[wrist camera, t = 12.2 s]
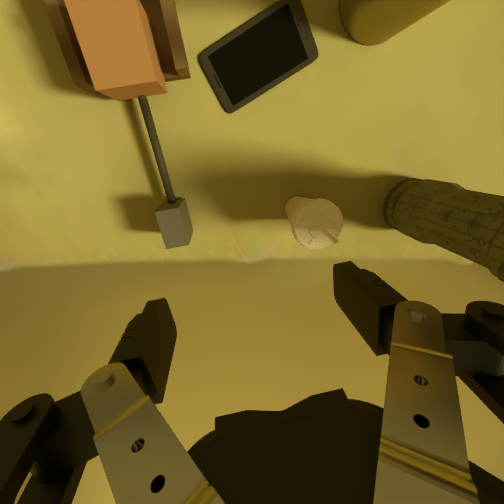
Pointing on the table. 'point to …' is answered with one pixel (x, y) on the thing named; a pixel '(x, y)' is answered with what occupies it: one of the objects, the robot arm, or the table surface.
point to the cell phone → (259, 54)
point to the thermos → (450, 219)
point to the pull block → (129, 82)
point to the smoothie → (314, 221)
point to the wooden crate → (164, 30)
